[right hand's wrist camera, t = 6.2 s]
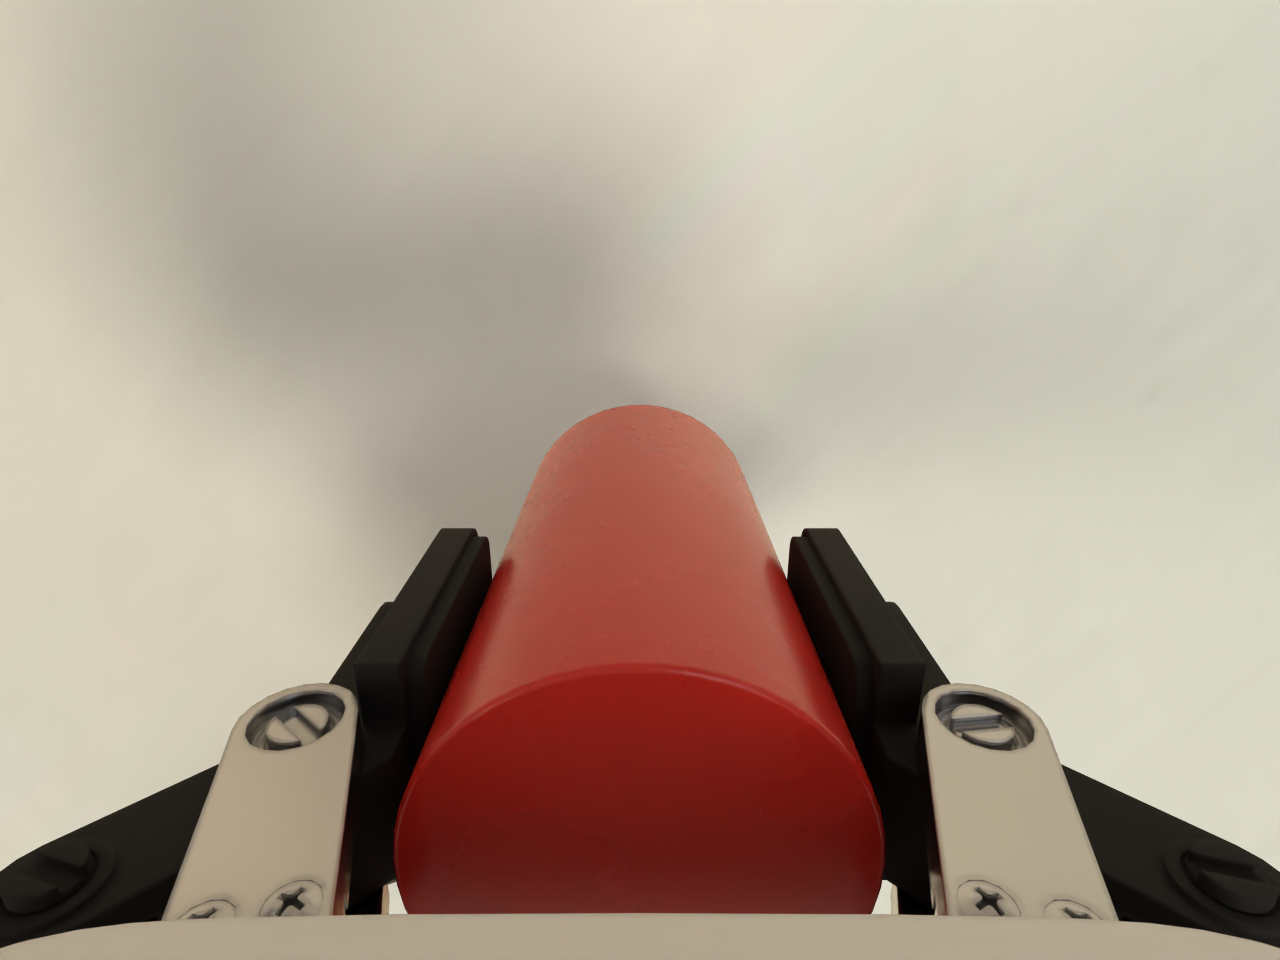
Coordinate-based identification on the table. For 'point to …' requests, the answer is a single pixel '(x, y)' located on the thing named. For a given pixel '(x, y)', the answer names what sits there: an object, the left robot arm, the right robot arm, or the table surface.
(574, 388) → the table surface
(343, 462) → the table surface
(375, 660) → the right robot arm
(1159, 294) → the table surface
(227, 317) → the table surface
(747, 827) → the canister
